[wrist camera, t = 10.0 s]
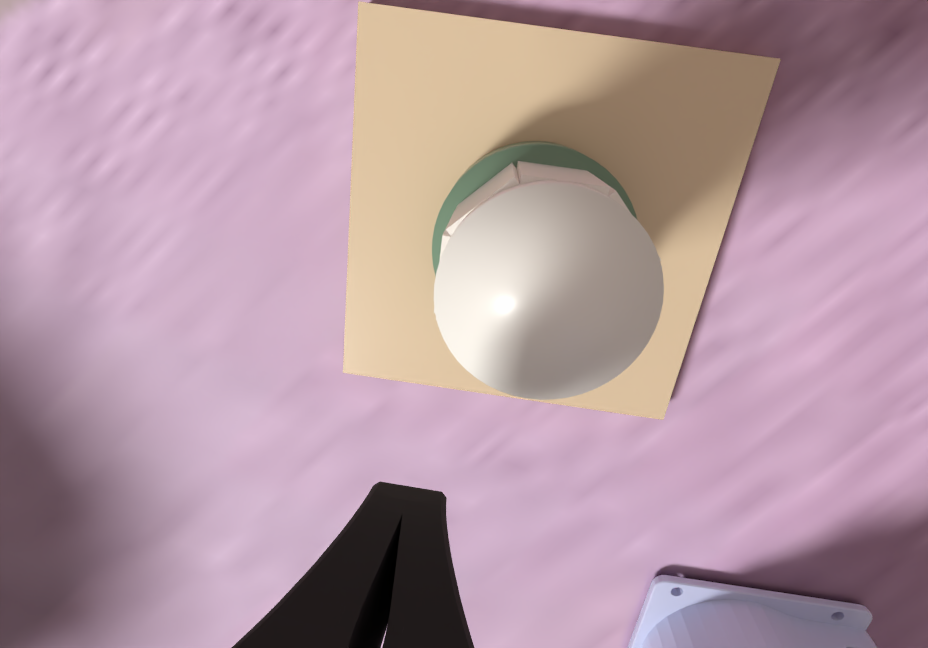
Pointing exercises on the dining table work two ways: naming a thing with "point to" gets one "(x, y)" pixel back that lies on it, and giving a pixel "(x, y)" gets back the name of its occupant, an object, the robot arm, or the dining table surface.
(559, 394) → the cap
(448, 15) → the beige square tray
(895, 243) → the dining table surface
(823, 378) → the dining table surface
